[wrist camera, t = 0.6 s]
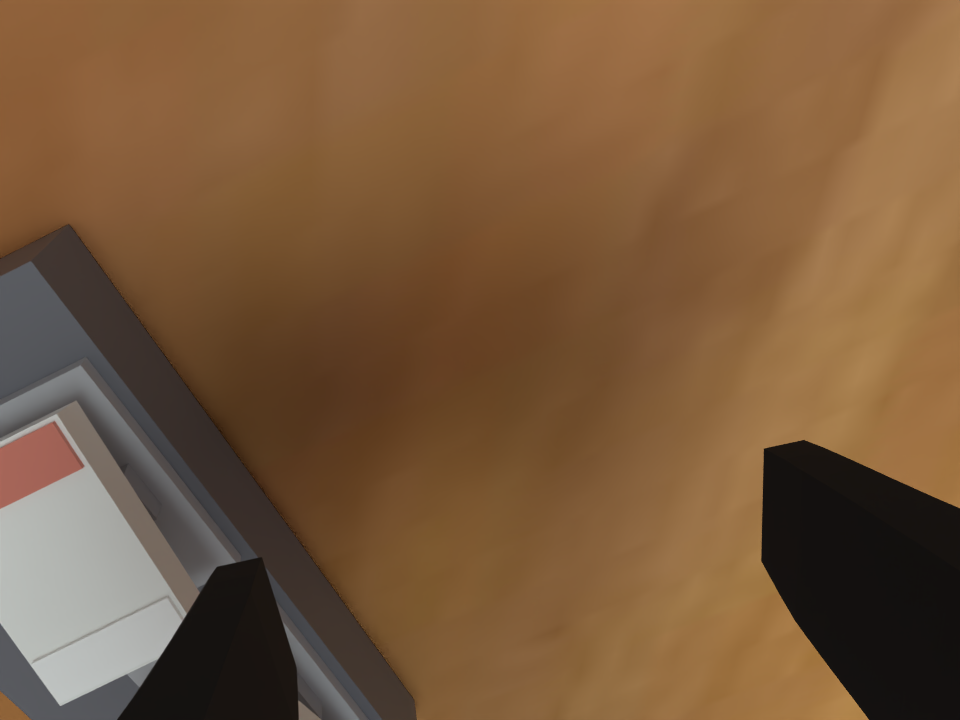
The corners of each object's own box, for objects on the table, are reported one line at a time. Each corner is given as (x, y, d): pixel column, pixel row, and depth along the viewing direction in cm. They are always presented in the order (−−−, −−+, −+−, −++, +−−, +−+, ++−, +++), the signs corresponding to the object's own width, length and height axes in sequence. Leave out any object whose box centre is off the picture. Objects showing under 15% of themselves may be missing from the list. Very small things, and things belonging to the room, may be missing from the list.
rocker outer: (213, 613, 17) (200, 640, 16) (78, 678, 17) (57, 710, 16) (76, 400, 16) (53, 415, 15) (-69, 472, 16) (-100, 491, 15)
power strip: (436, 731, 26) (452, 835, 23) (241, 823, 26) (230, 939, 23) (68, 224, 18) (13, 277, 15) (-213, 365, 18) (-327, 448, 15)
